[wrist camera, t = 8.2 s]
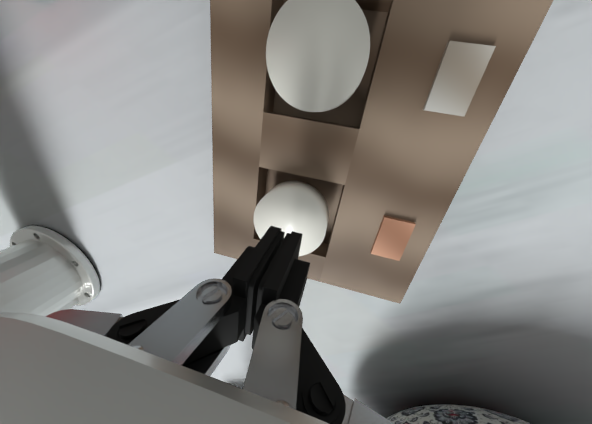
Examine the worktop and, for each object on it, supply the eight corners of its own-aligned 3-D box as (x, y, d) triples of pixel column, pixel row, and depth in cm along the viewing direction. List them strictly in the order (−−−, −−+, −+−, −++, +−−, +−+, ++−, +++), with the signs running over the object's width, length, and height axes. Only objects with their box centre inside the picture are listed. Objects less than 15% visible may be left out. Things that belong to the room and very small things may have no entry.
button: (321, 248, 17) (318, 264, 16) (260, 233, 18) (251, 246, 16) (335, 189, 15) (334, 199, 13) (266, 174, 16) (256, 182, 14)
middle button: (353, 118, 13) (353, 119, 11) (273, 104, 14) (261, 103, 12) (379, 10, 11) (385, -9, 9) (282, 0, 12) (271, -20, 10)
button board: (393, 277, 20) (400, 306, 17) (230, 235, 22) (212, 254, 19) (718, -440, 7) (987, -841, 4) (244, -380, 9) (194, -616, 6)
